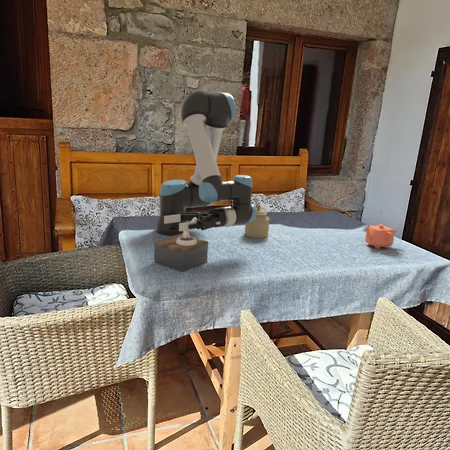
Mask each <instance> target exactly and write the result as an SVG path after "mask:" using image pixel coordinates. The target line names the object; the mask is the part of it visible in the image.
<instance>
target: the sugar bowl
mask: <svg viewBox="0 0 450 450" xmlns="http://www.w3.org/2000/svg"><path fill="white" fill-rule="evenodd" d="M255 208H256V212H257V216H256V218H255V220H254V221H252V222H249V223H246V224H244V236H246V237H248V238H252V239H265V238H267V237H268V236H269V230H270V229H269V228H270V217H269V216H267V215H268V212H266V211H265V210H264V209H261V204H260V203H258V204H256V207H255Z"/></svg>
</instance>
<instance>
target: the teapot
mask: <svg viewBox="0 0 450 450" xmlns="http://www.w3.org/2000/svg"><path fill="white" fill-rule="evenodd" d="M364 229H365V230H366V233H365V237H364V240H365V243H367V245H368V246H369V245H372V246H373V247H374V248H376V250H380V249H381V248H384V249H389V247H392V246H393V244H394V241H395V234H396V233H397V230H396V229H395V228H393V229H392V228H390V227H389V226H386V225H384V224H382V223H380V224H378V225H372V224H370V225H369V226H368V227H366V226H364Z"/></svg>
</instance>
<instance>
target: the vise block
mask: <svg viewBox="0 0 450 450" xmlns="http://www.w3.org/2000/svg"><path fill="white" fill-rule="evenodd" d="M180 236H183V235H182V234H178V235H170V236H169V237H166V238H162V239H159V240H156V241H154V251H153V252H154V259H153V261H154V262H153V263H156V264H159V265H162V266H164V267H166V268H167V267H168V268H170V269H174V270H176V271H179V272H181V273H184V272H186V271H189V270H191V269H193V268H196V267H198V266H201V265H203V264H205V263H208V256H209V255H208V253H209V241H207V240H204V239H200V238H197V237H194V238H195V239H196V241H197V244H195V245H191V246H183V245H179V244H177V243H176V241H177V239H178V237H180ZM184 241H190V240H184Z"/></svg>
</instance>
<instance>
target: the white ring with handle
mask: <svg viewBox="0 0 450 450" xmlns="http://www.w3.org/2000/svg"><path fill="white" fill-rule="evenodd" d="M193 221H195V222H196V223H197V218H196V217H194V218H193V219H192V220H191V221H190V222H193ZM189 231H190V230H185V231H183V234H182V235H183V236H180V237H178V239H177V241H176V243H177V244H179V245H183V246H191V245H195V244H197V241H196V239H195V238H196V237H195V236H192V235H190V233H189ZM184 240H190V241H184Z"/></svg>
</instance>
